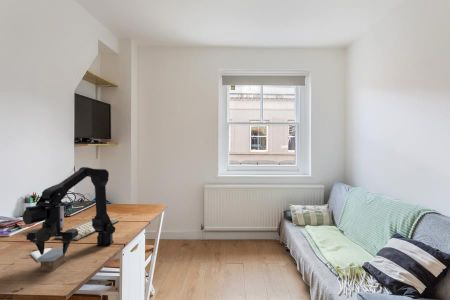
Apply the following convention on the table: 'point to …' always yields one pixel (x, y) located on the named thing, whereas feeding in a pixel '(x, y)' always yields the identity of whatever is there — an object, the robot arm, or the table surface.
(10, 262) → the table surface
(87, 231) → the mechanical keyboard
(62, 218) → the pillar candle
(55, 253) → the lid
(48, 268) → the box
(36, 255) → the external hard drive
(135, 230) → the table surface
